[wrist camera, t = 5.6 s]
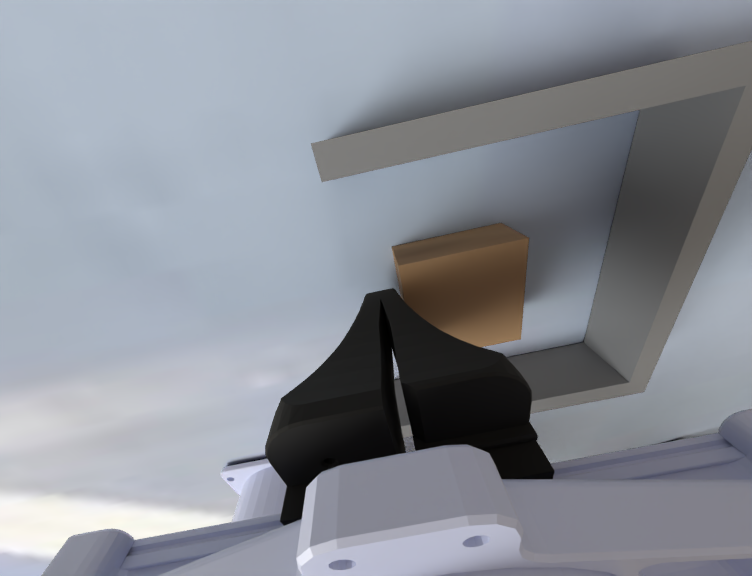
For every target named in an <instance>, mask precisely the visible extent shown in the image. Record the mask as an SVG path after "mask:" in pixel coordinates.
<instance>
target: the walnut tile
mask: <svg viewBox="0 0 752 576" xmlns="http://www.w3.org/2000/svg"><path fill="white" fill-rule="evenodd" d="M528 245H529V238H528V237H527V236H525V235H523V234H521V233H519V232H517V231H516V230H514V229H512V228H510V227H508V226H506V225H504V224H503V223H498V224H493V225H488V226H484V227H479V228H475V229H470V230H466V231H461V232H457V233H452V234H447V235H443V236H438V237H434V238H429V239H425V240H420V241H415V242H411V243H406V244H402V245H397V246H393V247H392V251H393V256H394V262H395V267H396V272H397V278H398V283H399V289H400V294H401V298H402V299H403V300H404V301H405V303H406V304H407V305H408V306H410V307H411V308H412V309H413V310H414V311H415V312H416V313H417V314H418V315H420V316H421V317H422V318H423V319H425V320H426V321H427V322H429V323H430V324H432V325H433V326H435V327H436V328H438V329H440V330H441V331H443V332H445V333H447V334H449V335H451V336H453V337H455V338H458V339H460V340H462V341H465V342H467V343H470V344H473V345H475V346H478V347H484V346H489V345H494V344H499V343H504V342H509V341H514V340H519V339H521V330H522V318H523V306H524V293H525V281H526V269H527V257H528Z"/></svg>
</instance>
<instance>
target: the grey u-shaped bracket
mask: <svg viewBox="0 0 752 576" xmlns="http://www.w3.org/2000/svg"><path fill="white" fill-rule="evenodd" d="M636 110H640V112H639V116H638V120H637V124H636V128H635V132H634V137H633V141H632V145H631V149H630V153H629V157H628V161H627V166H626V170H625V174H624V178H623V182H622V186H621V190H620V194H619V199H618V203H617V207H616V211H615V215H614V219H613V223H612V227H611V232H610V236H609V240H608V244H607V248H606V252H605V256H604V260H603V265H602V269H601V273H600V277H599V281H598V285H597V289H596V293H595V298H594V302H593V306H592V310H591V314H590V318H589V322H588V327H587V331H586V335H585V339H584V342H583V343H578V344H573V345H568V346H563V347H558V348H553V349H548V350H543V351H538V352H533V353H528V354H523V355H518V356H513V357H508V358H507V359H508V360H509V361H510V362H511V363H512V364H513V365H514V366H515V368H516V369H517V370H518V371H519V372H520V373H521V375H522V376H523V377H524V379H525V380H526V382H527V383H528V385H529V387H530V388H531V390H532V404H531V412H530V414H531V413H536V412H541V411H547V410H552V409H557V408H562V407H568V406H573V405H578V404H583V403H589V402H594V401H599V400H604V399H610V398H615V397H620V396H625V395H631V394H636V393H641V392H644V391H645V389H646V387H647V384H648V382H649V380H650V378H651V375H652V373H653V371H654V369H655V366H656V364H657V362H658V360H659V357H660V355H661V353H662V351H663V348H664V346H665V344H666V341H667V339H668V337H669V335H670V332H671V330H672V328H673V326H674V323H675V321H676V319H677V317H678V314H679V312H680V310H681V308H682V305H683V303H684V301H685V299H686V296H687V294H688V292H689V290H690V287H691V285H692V283H693V280H694V278H695V276H696V274H697V271H698V269H699V267H700V265H701V262H702V260H703V258H704V256H705V253H706V251H707V249H708V247H709V244H710V242H711V240H712V238H713V235H714V233H715V231H716V229H717V226H718V224H719V222H720V219H721V217H722V215H723V213H724V210H725V208H726V206H727V204H728V201H729V199H730V197H731V195H732V192H733V190H734V188H735V186H736V183H737V181H738V179H739V177H740V174H741V172H742V170H743V168H744V165H745V163H746V161H747V159H748V156H749V154H750V152H751V149H752V41H749V42H744V43H740V44H736V45H732V46H727V47H723V48H719V49H714V50H710V51H706V52H702V53H697V54H693V55H689V56H684V57H680V58H676V59H672V60H667V61H663V62H659V63H654V64H650V65H646V66H642V67H637V68H633V69H629V70H624V71H620V72H616V73H612V74H607V75H603V76H599V77H594V78H590V79H586V80H582V81H577V82H573V83H569V84H564V85H560V86H556V87H552V88H547V89H543V90H539V91H534V92H530V93H526V94H522V95H517V96H513V97H509V98H504V99H500V100H496V101H492V102H487V103H483V104H479V105H474V106H470V107H466V108H462V109H457V110H453V111H449V112H444V113H440V114H436V115H432V116H427V117H423V118H419V119H414V120H410V121H406V122H402V123H397V124H393V125H389V126H384V127H380V128H376V129H372V130H367V131H363V132H359V133H354V134H350V135H346V136H342V137H337V138H333V139H329V140H324V141H320V142H316V143H312V144H311V146H312V149H313V153H314V156H315V160H316V163H317V167H318V170H319V174H320V177H321V181H322V182H324V181H329V180H333V179H338V178H342V177H346V176H351V175H355V174H360V173H364V172H368V171H373V170H377V169H382V168H386V167H390V166H395V165H399V164H404V163H408V162H412V161H417V160H421V159H425V158H430V157H434V156H439V155H443V154H447V153H452V152H456V151H461V150H465V149H469V148H474V147H478V146H483V145H487V144H491V143H496V142H500V141H505V140H509V139H513V138H518V137H522V136H526V135H531V134H535V133H540V132H544V131H548V130H553V129H557V128H562V127H566V126H570V125H575V124H579V123H584V122H588V121H592V120H597V119H601V118H605V117H610V116H614V115H619V114H623V113H627V112H632V111H636ZM394 384H395V393H396V400H397V406H398V412H399V417H400V423H401V429H402V434H403V438H405V437H410V436H413V435H412V430H411V426H410V422H409V417H408V413H407V409H406V404H405V400H404V395H403V391H402V387H401V382H400V379H397V380H394Z"/></svg>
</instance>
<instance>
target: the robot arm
mask: <svg viewBox="0 0 752 576" xmlns="http://www.w3.org/2000/svg"><path fill="white" fill-rule="evenodd" d="M392 349H393V353H394V356H395V359H396V363H397V366H398V370H399V376H400V382H401V387H402V391H403V395H404V400H405V404H406V409H407V413H408V417H409V422H410V426H411V430H412V435H413V440H414V445H415V450H416V451H412V452H407V453H406V451H405V446H404V440H403V434H402V429H401V423H400V417H399V412H398V406H397V400H396V393H395V384H394V370H393V357H392ZM531 404H532V390H531V388H530V387H529V385H528V383H527V382H526V380H525V379H524V377H523V376H522V375H521V373H520V372H519V371H518V370H517V369H516V368H515V366H514V365H513V364H512V363H511V362H510V361H509V360H508V359H507V358H506V357H505V356H504V355H503V354H502V353H499V352H495V351H492V350H488V349H485V348H481V347H478V346H475V345H473V344H470V343H467V342H465V341H462V340H460V339H458V338H455V337H453V336H451V335H449V334H447V333H445V332H443V331H441V330H440V329H438V328H436V327H435V326H433V325H432V324H430V323H429V322H427V321H426V320H425V319H423V318H422V317H421V316H420V315H418V314H417V313H416V312H415V311H414V310H413V309H412V308H411V307H410V306H408V305H407V304H406V303H405V301H404V300H403V299H402V298H401V297H400V296H399V294H398V293H397V292H396V290H395V289H393V288H392V289H387V290H382V291H377V292H373V293H368V294H366V296H365V298H364V301H363V304H362V306H361V308H360V311H359V313H358V315H357V317H356V319H355V321H354V323H353V324H352V326H351V328H350V330H349V331H348V333H347V335H346V336H345V338H344V339H343V341H342V342H341V343H340V345H339V346H338V347H337V349H336V350H335V351H334V352H333V353H332V354H331V355H330V357H329V358H328V359H327V360H326V361H325V362H324V363H323V364H322V365H321V366H320V367H319V368H318V369H317V370H316V371H315V372H314V373H313V374H311V375H310V376H309V377H308V378H307V379H306V380H304V381H303V382H302V383H301V384H299V385H298V386H297V387H296V388H294V389H293V390H292V391H290V392H289V393H288V394H286V395H285V396H284V397H282V398H281V401H280V403H279V406H278V408H277V410H276V413H275V416H274V419H273V422H272V425H271V429H270V432H269V436H268V439H267V442H266V446H265V455H266V457H267V459H263V460H257V461H252V462H247V463H242V464H237V465H231V466H226V467H224V468H223V469H222V471H221V473H220V475H221V477H222V478H223V479H224V480H225V481H226V482H227V483H228V484H229V486H230V487H231V488H232V489H233V490H234V491H235V492H236V493H237V494H238V495H239V496H240V498H239V501H238V504H237V507H236V510H235V513H234V516H233V519H232V522H231V523H225V524H220V525H214V526H209V527H204V528H198V529H193V530H187V531H182V532H176V533H171V534H166V535H160V536H155V537H149V538H144V539H138V540H134V539H133V537H132V536H130V535H129V534H128V533H126V532H124V531H121V530H117V529H104V530H99V531H94V532H88V533H83V534H78V535H73V536H71V537H69V538H68V540H67V541H66V542H65V544H64V545H63V546H62V548H61V549H60V551H59V552H58V553H57V555H56V556H55V557H54V559H53V560H52V562H51V563H50V564H49V566H48V567H47V569H46V570H45V571H44V573H43V574H42V575H41V576H752V409H748V410H743V411H740V412H737V413H734V414H733V415H731V416H729V417H728V418H727V419H726V420H724V422H723V423H722V424H721V426H720V428H719V433H715V434H709V435H704V436H698V437H693V438H687V439H682V440H677V441H671V442H666V443H660V444H655V445H649V446H644V447H638V448H633V449H628V450H622V451H617V452H611V453H606V454H600V455H595V456H590V457H584V458H579V459H573V460H568V461H562V462H557V463H552V464H550V462H549V461H548V459H547V458H546V456H545V454H544V453H543V451H542V449H541V448H540V446H539V444H538V443H537V441H536V440H537V438H538V437H537V434H536V432H535V430H534V428H533V427H532V425H531V424H530V422H529V419H530V412H531Z"/></svg>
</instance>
